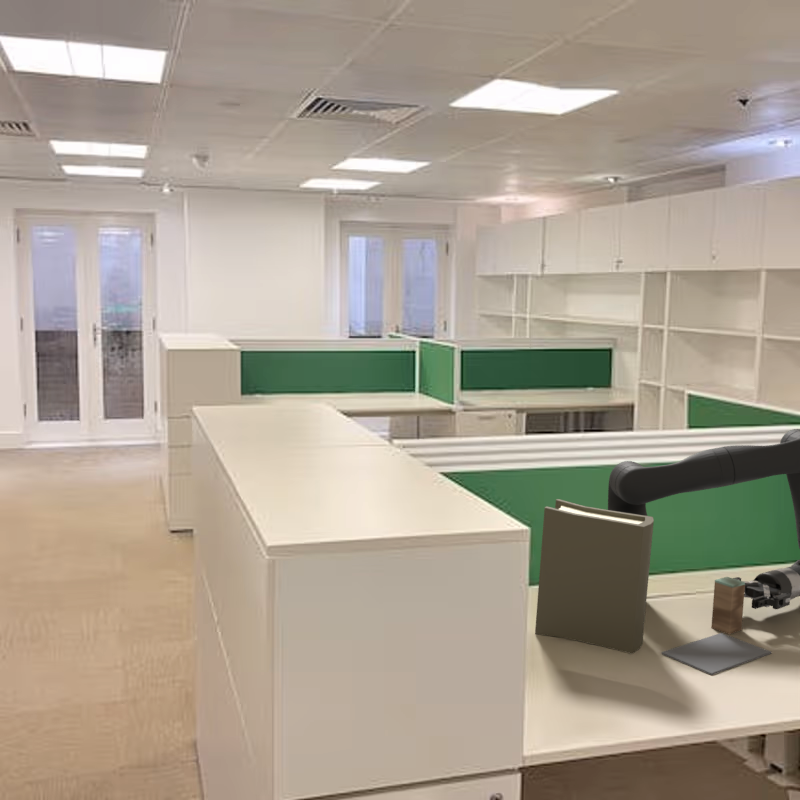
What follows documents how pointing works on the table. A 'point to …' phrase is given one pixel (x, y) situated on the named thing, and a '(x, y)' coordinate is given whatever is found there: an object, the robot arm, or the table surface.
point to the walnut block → (728, 605)
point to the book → (594, 575)
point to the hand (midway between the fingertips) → (736, 598)
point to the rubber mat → (716, 653)
